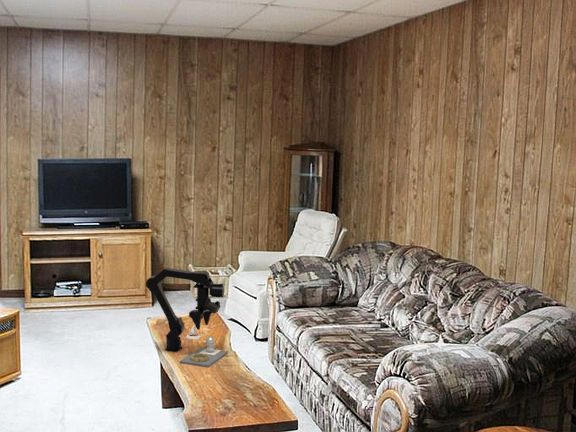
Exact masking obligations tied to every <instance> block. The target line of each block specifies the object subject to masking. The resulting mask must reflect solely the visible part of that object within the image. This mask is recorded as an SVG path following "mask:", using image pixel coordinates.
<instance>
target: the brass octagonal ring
mask: <svg viewBox="0 0 576 432" xmlns="http://www.w3.org/2000/svg"><path fill="white" fill-rule="evenodd" d="M197 357H203V358H197ZM190 360H191V361H193V362H206V361H208V360H209V356H208V355H207V354H203V353H198V354H193V355H191V356H190Z"/></svg>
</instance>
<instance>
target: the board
mask: <svg viewBox="0 0 576 432" xmlns="http://www.w3.org/2000/svg"><path fill="white" fill-rule="evenodd" d="M205 349H206V347H200V348H197V349H196V350H194V351H193V352H192V353H190V354H189V355H186V356H185V357H184V358H182V359H181V360H179V364H184V365H190V366H198V367H204V368H210V367H211V366H212V365H214V364H215V363H216V362H218V361H220V360H221V359H222V358H224V357H225V356H226V355H228V353H229V351H226V350H221V351H220V352H219V353H217V354H216V355H214V356H213V355H208V356H209V360H208V361H206V362H193V361H191V360H190V356H191V355H193V354H198V353H200V352H201V351H203V350H205ZM197 358H203V357H197Z"/></svg>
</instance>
